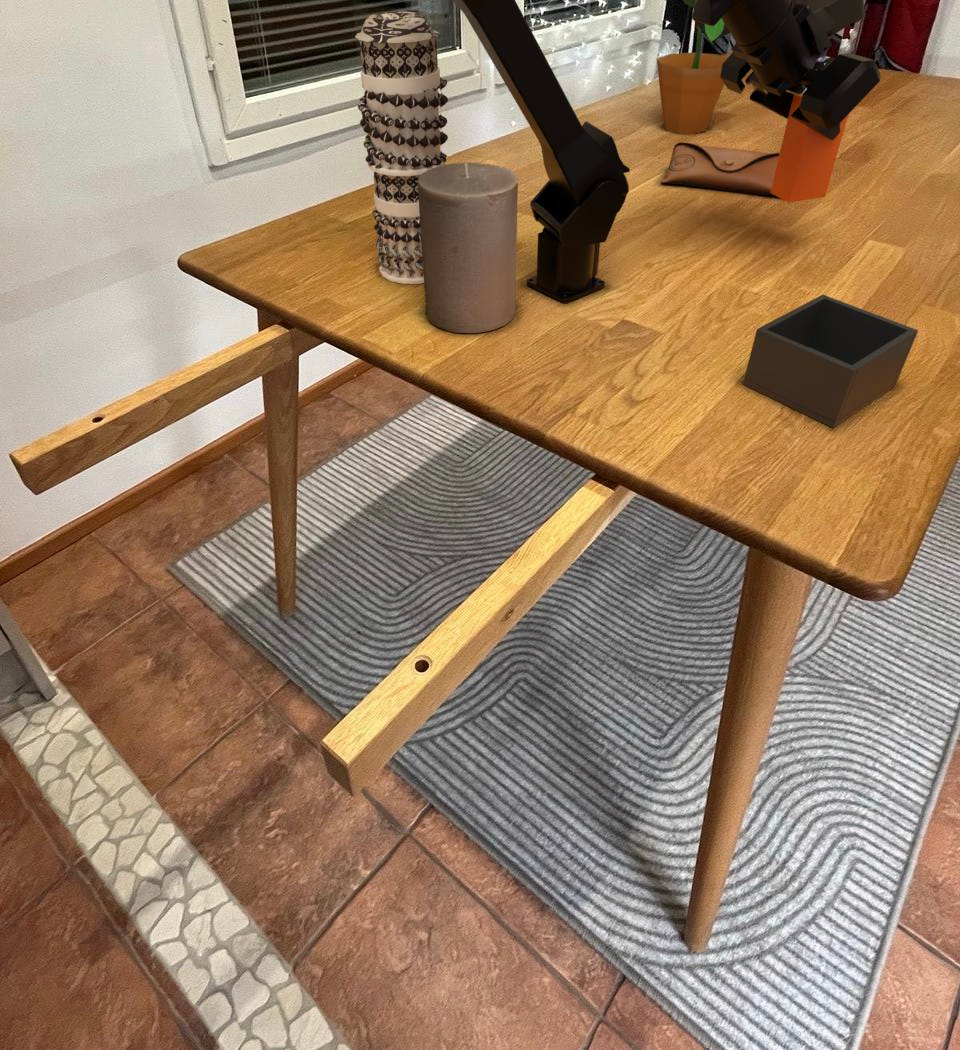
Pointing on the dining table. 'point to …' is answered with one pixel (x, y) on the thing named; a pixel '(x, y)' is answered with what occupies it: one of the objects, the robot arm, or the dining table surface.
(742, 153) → the sunglasses case
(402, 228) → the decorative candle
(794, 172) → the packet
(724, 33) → the potted plant
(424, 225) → the pillar candle
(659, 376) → the dining table surface
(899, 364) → the trash bin
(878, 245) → the dining table surface
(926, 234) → the dining table surface
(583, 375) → the dining table surface
